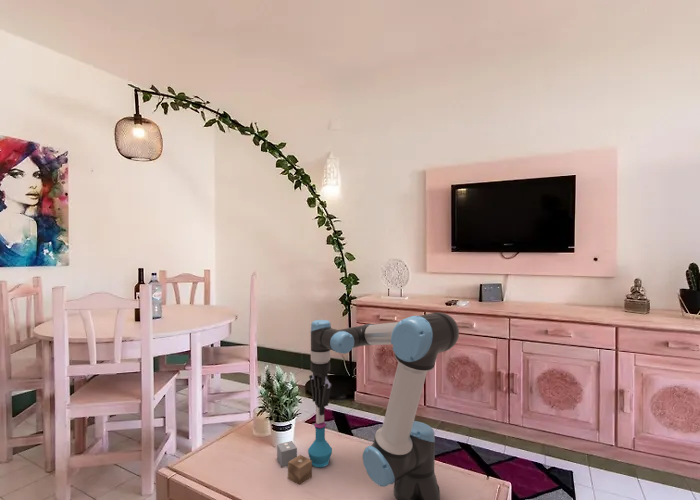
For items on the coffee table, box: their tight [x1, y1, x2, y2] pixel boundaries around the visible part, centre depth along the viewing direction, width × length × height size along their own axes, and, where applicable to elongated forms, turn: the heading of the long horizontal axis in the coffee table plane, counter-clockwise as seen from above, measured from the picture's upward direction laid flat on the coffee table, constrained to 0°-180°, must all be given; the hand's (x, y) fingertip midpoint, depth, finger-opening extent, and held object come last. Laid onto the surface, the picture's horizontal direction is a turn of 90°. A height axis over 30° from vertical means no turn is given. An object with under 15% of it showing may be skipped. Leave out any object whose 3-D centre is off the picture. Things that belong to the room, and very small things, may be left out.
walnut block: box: [287, 454, 313, 486], centre depth 135 cm, size 6×6×6 cm
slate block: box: [276, 440, 298, 468], centre depth 145 cm, size 6×6×6 cm
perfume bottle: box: [307, 421, 333, 468], centre depth 144 cm, size 9×9×15 cm
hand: (320, 422), depth 145 cm, fingers closed
